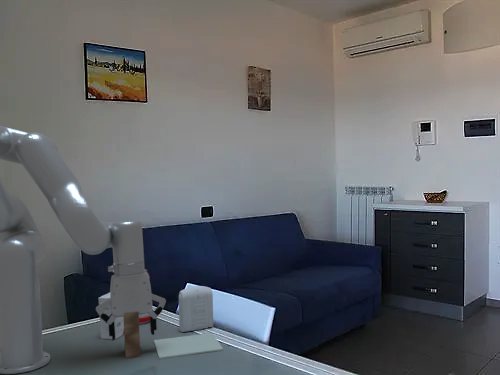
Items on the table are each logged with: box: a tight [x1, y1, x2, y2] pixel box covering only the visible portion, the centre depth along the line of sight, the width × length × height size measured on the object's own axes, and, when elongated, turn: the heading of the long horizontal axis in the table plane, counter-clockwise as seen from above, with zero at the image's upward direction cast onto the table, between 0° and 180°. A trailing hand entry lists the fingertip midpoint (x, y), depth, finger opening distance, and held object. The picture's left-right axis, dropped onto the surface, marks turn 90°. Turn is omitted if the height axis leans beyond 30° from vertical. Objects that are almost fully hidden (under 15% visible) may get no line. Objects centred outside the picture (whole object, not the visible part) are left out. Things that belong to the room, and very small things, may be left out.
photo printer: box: [178, 285, 214, 333], centre depth 145 cm, size 10×4×12 cm, turn 116°
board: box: [153, 332, 224, 360], centre depth 130 cm, size 16×14×1 cm
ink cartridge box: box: [98, 292, 124, 340], centre depth 142 cm, size 9×5×15 cm, turn 168°
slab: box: [123, 312, 141, 360], centre depth 126 cm, size 4×7×11 cm, turn 16°
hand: (133, 335), depth 126 cm, fingers open, 9 cm apart
